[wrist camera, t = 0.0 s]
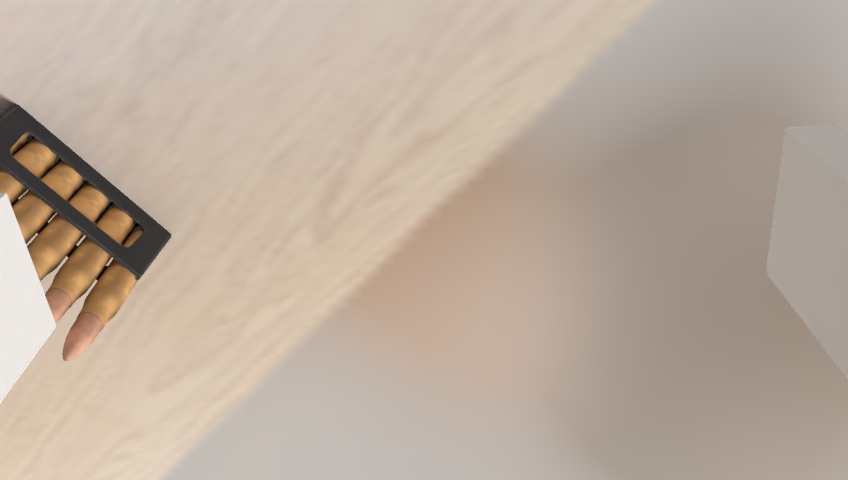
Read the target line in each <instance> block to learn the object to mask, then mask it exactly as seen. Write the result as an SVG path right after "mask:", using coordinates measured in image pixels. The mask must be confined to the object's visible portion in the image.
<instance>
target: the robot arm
mask: <svg viewBox="0 0 848 480" xmlns="http://www.w3.org/2000/svg"><path fill="white" fill-rule="evenodd" d="M766 273H767V274H768V276H769V277H770V278H771V279H772V281H773V282H774V283H775V284H776V286H777V287H778V289H779V290H780V291H781V293H782V294H783V295H784V297H785V298H786V299H787V301H788V302H789V303H790V305H791V306H792V307H793V309H794V310H795V311H796V313H797V314H798V315H799V316H800V318H801V319H802V320H803V322H804V323H805V324H806V326H807V327H808V328H809V330H810V331H811V332H812V334H813V335H814V336H815V338H816V339H817V340H818V342H819V343H820V344H821V345H822V347H823V348H824V349H825V351H826V352H827V353H828V355H829V356H830V357H831V358H832V360H833V361H834V363H835V364H836V365H837V366H838V368H839V369H840V371H841V372H842V373H843V375H844V376H845V377H846V379H847V380H848V135H847V134H846V133H845V132H843V131H842V130H841V129H839V128H838V127H837V126H835V125H834V124H823V125H812V126H799V127H787V128H785V134H784V142H783V149H782V156H781V163H780V171H779V178H778V186H777V193H776V200H775V208H774V216H773V223H772V231H771V238H770V245H769V252H768V260H767V268H766ZM55 328H56V323H55V320H54V318H53V315H52V312H51V310H50V307H49V304H48V302H47V299H46V296H45V294H44V291H43V288H42V286H41V283H40V280H39V278H38V275H37V272H36V270H35V267H34V264H33V262H32V259H31V256H30V254H29V251H28V249H27V246H26V243H25V241H24V238H23V235H22V233H21V230H20V227H19V225H18V222H17V219H16V217H15V214H14V211H13V209H12V206H11V203H10V201H9V198H8V195H7V193H0V403H1V402H2V400H3V399H4V398H5V396H6V395H7V393H8V392H9V391H10V389H11V388H12V387H13V385H14V384H15V382H16V381H17V380H18V378H19V377H20V376H21V374H22V373H23V371H24V370H25V369H26V367H27V366H28V365H29V363H30V362H31V360H32V359H33V358H34V356H35V355H36V354H37V352H38V351H39V350H40V348H41V347H42V345H43V344H44V343H45V341H46V340H47V339H48V337H49V336H50V334H51V333H52V332H53V330H54V329H55Z"/></svg>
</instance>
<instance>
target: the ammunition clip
mask: <svg viewBox="0 0 848 480" xmlns="http://www.w3.org/2000/svg"><path fill="white" fill-rule="evenodd" d="M40 178H41V180H40ZM28 189H29V191H28V192H27V193H26V194H25V195H24V196H23V197H22V198H21V199H18V198H19V197H20V196H21V195H22V194H23V193H24V192H25V191H27V190H28ZM0 193H7V195H8V198H9V201H10V203H11V206H12V209H13V211H14V214H15V217H16V219H17V222H18V225H19V227H20V230H21V233H22V235H23V238H24V241H25V243H26V244H27V242H28V241H29V240H30V239H31V238H32V237H33V236H34V235H35V234H36V233H38V235H37V236H36V238H35V239H34V240H33V241H32V242H31V243H30V244H29V245H28V246H27V249H28V251H29V254H30V256H31V259H32V262H33V264H34V267H35V270H36V272H37V275H38V278H39V280H40V281H41V280H42V279H43V278H44V277H45V276H46V275H47V274H49V273H50V272H52V271H53V270H55V269H56V268H57V267H58V265H59V264H60V263H61V262H62V261H63V259H64V258H65V257H66V256H67V257H68V259H67V261H66V262H65V263H64V264H63V266H62V267H61V268H60V269H59V271H58V272H57V274H56V275H55V277H54V280H53V283H52V285H51V286H50V288H49V289H48V291H47V292H46V294H45V296H46V299H47V302H48V304H49V307H50V310H51V312H52V315H53V318H54V320H55V323H56V322H57V321H58V320H59V319H60V318H61V317H62V316H63V315H64V314H65V312H66V311H67V310H68V308H70V307H71V306H72V305H73V303H74V302H75V301H76V300H77V299H78V298H79V297H81V296H82V295H83V294H85V293H86V291H87V290H88V289H89V287H90V286H91V285H92V283H93V282H94V281H95V279H96V280H98V282H97V283H96V284H95V286H94V287H93V289H92V290H91V292H90V293H89V294H88V296H87V297H86V299H85V302H84V305H83V308H82V310H81V312H80V313H79V315H78V317H77V320H76V321H75V323H74V324H73V326H72V327H71V329H70V331H69V333H68V335H67V337H66V340H65V343H64V348H63V359H64V360H65V361H69V360H71V359H73V358H75V357H76V356H78V355H79V354H80V353H82V352H83V351H84V350H85V349H86V348H87V347H88V346H89V345H90V344H91V343H92V342H93V340H94V339H95V338H96V336H97V335H98V333H99V332H100V331H101V330H102V328H103V327H104V326H105V324H106V323H107V322H108V321H109V320H110V319H112V318H113V317H114V316H115V315H116V313H117V312H118V310H119V309H120V307H121V306H122V304H123V303H124V301H125V299H126V298H127V296H128V295H129V293H130V292H131V290H132V289H133V287H134V285H135V284H136V282H137V281H138V280H139V279H140V278H141V276H142V275H143V274H144V272H145V271H146V270H147V268H148V267H149V266H150V264H151V263H152V262H153V260H154V259H155V258H156V256H157V255H158V254H159V252H160V251H161V250H162V248H163V247H164V246H165V244H166V243H167V242H168V240H169V239H170V238H171V234H170V233H169V232H168V231H167V230H166V229H164V228H163V227H162V226H161V225H160V224H159V223H157V222H156V221H155V220H154V219H153V218H151V217H150V216H149V215H148V214H147V213H146V212H144V211H143V210H142V209H141V208H140V207H138V206H137V205H136V204H135V203H134V202H133V201H131V200H130V199H129V198H128V197H127V196H125V195H124V194H123V193H122V192H121V191H120V190H118V189H117V188H116V187H115V186H114V185H112V184H111V183H110V182H109V181H108V180H107V179H105V178H104V177H103V176H102V175H101V174H99V173H98V172H97V171H96V170H95V169H94V168H92V167H91V166H90V165H89V164H88V163H86V162H85V161H84V160H83V159H82V158H81V157H79V156H78V155H77V154H76V153H75V152H73V151H72V150H71V149H70V148H69V147H68V146H66V145H65V144H64V143H63V142H62V141H60V140H59V139H58V138H57V137H56V136H55V135H53V134H52V133H51V132H50V131H49V130H47V129H46V128H45V127H44V126H43V125H42V124H40V123H39V122H38V121H37V120H36V119H34V118H33V117H32V116H31V115H30V114H29V113H27V112H26V111H25V110H24V109H23V108H21V107H20V106H19V105H14V104H13V105H12V106H11V107H10V108H9V109H7V110H6V111H5V112H4V113H3V114H1V115H0ZM67 201H69V202H67ZM56 212H57V213H58V214H57V215H56V216H55V217H54V218H53V219H52V220H51V221H50V222H49V223H48V221H49V220H50V219H51V218H52V216H53V215H54V214H55V213H56ZM94 223H96V225H95V224H94ZM84 235H86V237H85V238H84V240H83V241H82V242H81V243H80V245H79V246H77V245H76V244H77V243H78V242H79V240H80V239H81V238H82V237H83V236H84ZM111 257H113V258H114V259H113V260H112V262H111V263H110V264H109V266H106V264H107V263H108V262H109V260H110V259H111Z"/></svg>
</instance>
